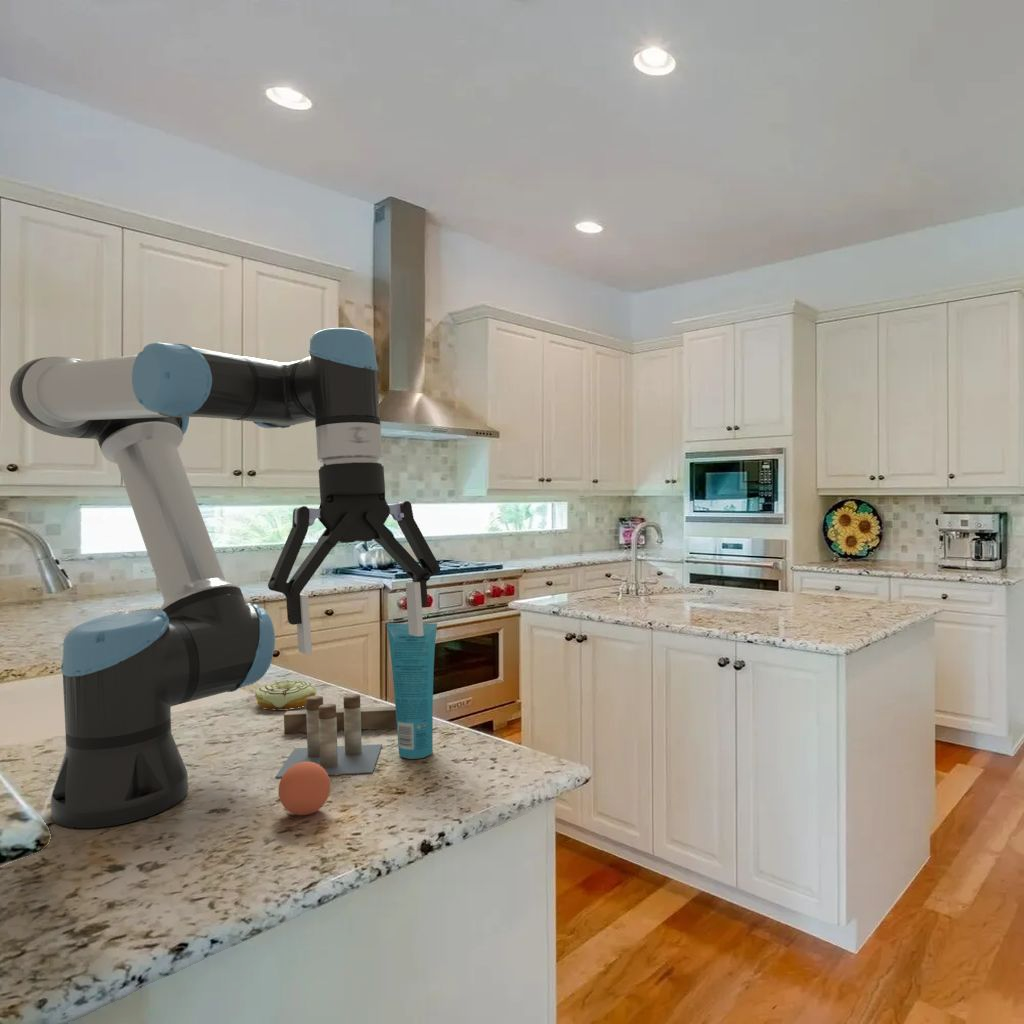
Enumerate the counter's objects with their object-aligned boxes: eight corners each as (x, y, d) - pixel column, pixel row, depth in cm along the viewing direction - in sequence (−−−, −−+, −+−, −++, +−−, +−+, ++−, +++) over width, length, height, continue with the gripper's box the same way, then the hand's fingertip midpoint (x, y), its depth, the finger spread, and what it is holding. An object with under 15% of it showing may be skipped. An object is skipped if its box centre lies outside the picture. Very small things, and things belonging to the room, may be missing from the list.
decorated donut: (280, 717, 126) (280, 695, 125) (243, 707, 132) (243, 687, 132) (327, 702, 134) (326, 681, 134) (290, 694, 140) (290, 674, 140)
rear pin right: (306, 758, 104) (304, 700, 104) (309, 753, 106) (307, 696, 106) (322, 758, 104) (321, 700, 104) (326, 752, 106) (324, 695, 106)
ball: (273, 825, 83) (271, 774, 83) (286, 803, 89) (284, 755, 89) (326, 822, 83) (324, 771, 83) (335, 801, 89) (333, 753, 89)
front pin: (318, 769, 100) (316, 709, 99) (322, 763, 102) (320, 704, 102) (336, 768, 100) (334, 708, 100) (339, 762, 102) (337, 703, 102)
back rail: (284, 733, 116) (283, 714, 116) (287, 729, 118) (286, 711, 118) (409, 727, 117) (408, 709, 117) (410, 723, 119) (409, 705, 119)
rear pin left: (343, 757, 104) (342, 699, 104) (346, 751, 107) (344, 694, 106) (360, 756, 104) (358, 698, 104) (362, 750, 107) (361, 693, 107)
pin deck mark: (275, 778, 97) (275, 776, 97) (294, 749, 108) (294, 748, 108) (372, 773, 98) (372, 771, 98) (381, 745, 109) (381, 744, 109)
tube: (442, 747, 107) (438, 619, 107) (438, 759, 102) (435, 625, 102) (392, 748, 107) (389, 620, 107) (386, 760, 102) (383, 626, 102)
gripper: (247, 461, 75) (260, 665, 74) (459, 458, 88) (471, 631, 88) (233, 468, 81) (245, 656, 81) (433, 464, 94) (444, 625, 94)
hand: (363, 643), depth 84 cm, fingers open, 13 cm apart
